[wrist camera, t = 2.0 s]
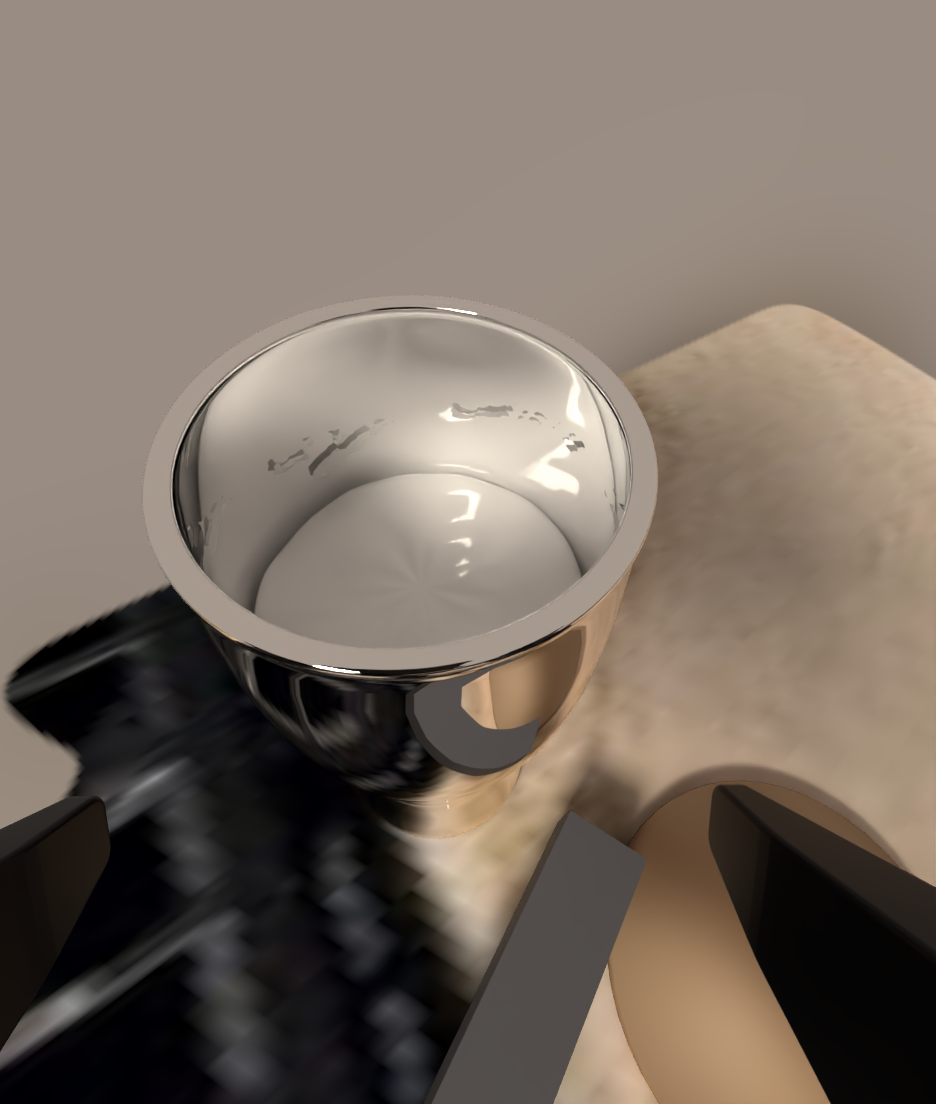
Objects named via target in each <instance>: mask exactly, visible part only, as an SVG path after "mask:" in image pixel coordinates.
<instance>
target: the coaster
mask: <svg viewBox="0 0 936 1104" xmlns="http://www.w3.org/2000/svg"><path fill="white" fill-rule="evenodd" d="M719 784H743V785H746V786H748V787H750V788H752V789H753V790H755V791H757V792H759V793H761V794H763V795H765V796H766V797H768V798H770V799H772V800H774V801H776V802H778V803H780V804H781V805H783V806H785V807H787V808H789V809H791V810H793V811H794V812H796V813H798V814H800V815H802V816H804V817H806V818H807V819H809V820H811V821H813V822H815V823H817V824H819V825H820V826H822V827H824V828H826V829H828V830H830V831H832V832H834V833H835V834H837V835H839V836H841V837H843V838H845V839H847V840H848V841H850V842H852V843H854V844H856V845H858V846H860V847H861V848H863V849H865V850H867V851H869V852H871V853H873V854H874V855H876V856H878V857H880V858H882V859H884V860H886V861H888V862H889V863H891V864H893V865H895V866H897V867H899V866H898V865H897V864H896V863H895V862H894V861H893V860H892V859H891V858H890V857H889V856H888V854H887V853H886V852H885V851H884V850H883V849H882V848H881V847H879V846H878V845H877V844H876V843H875V842H874V841H873V840H872V839H871V838H870V837H869V836H868V835H866V834H865V833H864V832H863V831H861V830H860V829H859V828H858V827H856V826H855V825H854V824H852V823H851V822H850V821H848V820H847V819H846V818H844V817H843V816H841V815H840V814H838V813H836V812H835V811H833V810H832V809H830V808H828V807H827V806H825V805H823V804H821V803H819V802H817V801H815V800H813V799H811V798H809V797H807V796H805V795H803V794H800V793H797V792H794V791H792V790H789V789H786V788H783V787H779V786H775V785H771V784H766V783H760V782H751V781H724V782H719V783H713V784H708V785H704V786H701V787H699V788H696V789H693V790H690V791H688V792H686V793H684V794H682V795H680V796H679V797H677V798H675V799H673V800H671V801H669V802H668V803H666V804H665V805H664V806H662V807H661V808H660V809H658V810H657V811H656V812H655V813H653V814H652V815H651V816H650V817H649V818H648V819H647V821H646V822H645V823H644V824H643V825H642V826H641V827H640V828H639V830H638V831H637V833H636V834H635V835H634V837H633V838H632V840H631V841H630V843H629V844H628V846H627V847H629V848H630V849H632V850H633V851H635V852H637V853H638V854H640V855H641V856H643V857H644V858H646V859H647V861H646V864H645V866H644V869H643V871H642V874H641V877H640V879H639V882H638V884H637V887H636V890H635V892H634V895H633V897H632V900H631V903H630V905H629V908H628V910H627V913H626V916H625V918H624V921H623V923H622V926H621V929H620V931H619V934H618V936H617V939H616V942H615V944H614V947H613V949H612V952H611V955H610V957H609V960H608V968H609V976H610V983H611V988H612V993H613V997H614V1001H615V1005H616V1009H617V1013H618V1017H619V1020H620V1022H621V1025H622V1028H623V1031H624V1034H625V1037H626V1040H627V1042H628V1045H629V1047H630V1049H631V1052H632V1054H633V1056H634V1058H635V1060H636V1062H637V1065H638V1067H639V1069H640V1071H641V1073H642V1075H643V1077H644V1079H645V1080H646V1082H647V1084H648V1085H649V1087H650V1089H651V1091H652V1092H653V1094H654V1096H655V1097H656V1099H657V1101H658V1102H659V1104H830V1102H829V1100H828V1098H827V1096H826V1094H825V1092H824V1090H823V1089H822V1087H821V1085H820V1083H819V1081H818V1079H817V1077H816V1075H815V1073H814V1071H813V1069H812V1067H811V1065H810V1063H809V1062H808V1060H807V1058H806V1056H805V1054H804V1052H803V1050H802V1048H801V1046H800V1044H799V1042H798V1040H797V1038H796V1036H795V1035H794V1033H793V1031H792V1029H791V1027H790V1025H789V1023H788V1021H787V1019H786V1017H785V1015H784V1013H783V1011H782V1009H781V1008H780V1006H779V1004H778V1002H777V1000H776V998H775V996H774V994H773V992H772V990H771V988H770V986H769V984H768V982H767V981H766V979H765V977H764V975H763V973H762V971H761V969H760V966H759V964H758V962H757V960H756V958H755V956H754V954H753V952H752V949H751V947H750V945H749V942H748V940H747V938H746V935H745V933H744V930H743V928H742V925H741V923H740V920H739V918H738V916H737V913H736V911H735V908H734V906H733V903H732V901H731V898H730V896H729V893H728V891H727V888H726V886H725V884H724V881H723V879H722V876H721V874H720V871H719V869H718V866H717V864H716V861H715V859H714V857H713V854H712V851H711V849H710V845H709V839H708V828H709V818H710V808H711V797H712V792H713V789H714V787H716V786H717V785H719Z"/></svg>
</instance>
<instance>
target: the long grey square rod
mask: <svg viewBox="0 0 936 1104" xmlns="http://www.w3.org/2000/svg"><path fill="white" fill-rule="evenodd" d="M646 861H647V859H646V858H644V857H643V856H641V855H640V854H638V853H637V852H635V851H633V850H632V849H630V848H629V847H627V846H626V845H624V844H623V843H621V842H619V841H618V840H616V839H615V838H613V837H612V836H610V835H609V834H607V833H605V832H604V831H602V830H601V829H599V828H598V827H596V826H595V825H593V824H591V823H590V822H588V821H587V820H585V819H584V818H582V817H581V816H579V815H577V814H576V813H574V812H573V811H571V810H570V811H569V812H568V813H567V814H566V815H565V816H564V817H563V818H562V819H561V820H560V821H559V822H558V824H557V826H556V828H555V830H554V832H553V834H552V836H551V838H550V840H549V842H548V844H547V847H546V849H545V851H544V853H543V855H542V857H541V859H540V861H539V863H538V865H537V867H536V869H535V872H534V874H533V876H532V878H531V880H530V882H529V884H528V886H527V888H526V890H525V892H524V894H523V896H522V899H521V901H520V903H519V905H518V907H517V909H516V911H515V913H514V915H513V917H512V919H511V921H510V924H509V926H508V928H507V930H506V932H505V934H504V936H503V938H502V940H501V942H500V944H499V946H498V949H497V951H496V953H495V955H494V957H493V959H492V961H491V963H490V965H489V967H488V969H487V971H486V973H485V976H484V978H483V980H482V982H481V984H480V986H479V988H478V990H477V992H476V994H475V996H474V998H473V1001H472V1003H471V1005H470V1007H469V1009H468V1011H467V1013H466V1015H465V1017H464V1019H463V1021H462V1023H461V1026H460V1028H459V1030H458V1032H457V1034H456V1036H455V1038H454V1040H453V1042H452V1044H451V1046H450V1048H449V1051H448V1053H447V1055H446V1057H445V1059H444V1061H443V1063H442V1065H441V1067H440V1069H439V1071H438V1073H437V1075H436V1078H435V1080H434V1082H433V1084H432V1086H431V1088H430V1090H429V1092H428V1094H427V1096H426V1098H425V1100H424V1103H423V1104H553V1103H554V1100H555V1097H556V1095H557V1092H558V1090H559V1087H560V1084H561V1082H562V1079H563V1077H564V1074H565V1071H566V1069H567V1066H568V1064H569V1061H570V1058H571V1056H572V1053H573V1051H574V1048H575V1045H576V1043H577V1040H578V1038H579V1035H580V1032H581V1030H582V1027H583V1025H584V1022H585V1019H586V1017H587V1014H588V1012H589V1009H590V1007H591V1004H592V1001H593V999H594V996H595V994H596V991H597V988H598V986H599V983H600V981H601V978H602V975H603V973H604V970H605V968H606V965H607V962H608V960H609V957H610V955H611V952H612V949H613V947H614V944H615V942H616V939H617V936H618V934H619V931H620V929H621V926H622V923H623V921H624V918H625V916H626V913H627V910H628V908H629V905H630V903H631V900H632V897H633V895H634V892H635V890H636V887H637V884H638V882H639V879H640V877H641V874H642V871H643V869H644V866H645V864H646Z"/></svg>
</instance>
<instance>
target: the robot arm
mask: <svg viewBox="0 0 936 1104" xmlns="http://www.w3.org/2000/svg"><path fill="white" fill-rule="evenodd" d="M708 839H709V845H710V849H711V851H712V854H713V857H714V859H715V861H716V864H717V866H718V869H719V871H720V874H721V876H722V879H723V881H724V884H725V886H726V888H727V891H728V893H729V896H730V898H731V901H732V903H733V906H734V908H735V911H736V913H737V916H738V918H739V920H740V923H741V925H742V928H743V930H744V933H745V935H746V938H747V940H748V942H749V945H750V947H751V949H752V952H753V954H754V956H755V958H756V960H757V962H758V964H759V966H760V969H761V971H762V973H763V975H764V977H765V979H766V981H767V982H768V984H769V986H770V988H771V990H772V992H773V994H774V996H775V998H776V1000H777V1002H778V1004H779V1006H780V1008H781V1009H782V1011H783V1013H784V1015H785V1017H786V1019H787V1021H788V1023H789V1025H790V1027H791V1029H792V1031H793V1033H794V1035H795V1036H796V1038H797V1040H798V1042H799V1044H800V1046H801V1048H802V1050H803V1052H804V1054H805V1056H806V1058H807V1060H808V1062H809V1063H810V1065H811V1067H812V1069H813V1071H814V1073H815V1075H816V1077H817V1079H818V1081H819V1083H820V1085H821V1087H822V1089H823V1090H824V1092H825V1094H826V1096H827V1098H828V1100H829V1102H830V1104H936V887H934V886H932V885H930V884H929V883H927V882H925V881H923V880H921V879H919V878H917V877H916V876H914V875H912V874H910V873H908V872H906V871H904V870H902V869H901V868H899V867H897V866H895V865H893V864H891V863H889V862H888V861H886V860H884V859H882V858H880V857H878V856H876V855H874V854H873V853H871V852H869V851H867V850H865V849H863V848H861V847H860V846H858V845H856V844H854V843H852V842H850V841H848V840H847V839H845V838H843V837H841V836H839V835H837V834H835V833H834V832H832V831H830V830H828V829H826V828H824V827H822V826H820V825H819V824H817V823H815V822H813V821H811V820H809V819H807V818H806V817H804V816H802V815H800V814H798V813H796V812H794V811H793V810H791V809H789V808H787V807H785V806H783V805H781V804H780V803H778V802H776V801H774V800H772V799H770V798H768V797H766V796H765V795H763V794H761V793H759V792H757V791H755V790H753V789H752V788H750V787H748V786H746V785H743V784H719V785H717V786H716V787H714V789H713V792H712V797H711V808H710V818H709V828H708ZM110 849H111V843H110V836H109V830H108V823H107V817H106V810H105V805H104V802H103V800H102V799H101V798H99V797H97V796H72V797H68V798H65V799H63V800H61V801H59V802H57V803H55V804H53V805H51V806H49V807H46V808H44V809H42V810H40V811H38V812H36V813H34V814H31V815H29V816H27V817H25V818H23V819H21V820H19V821H17V822H15V823H13V824H10V825H8V826H6V827H4V828H2V829H0V1051H1V1049H2V1048H3V1046H4V1045H5V1043H6V1041H7V1040H8V1038H9V1037H10V1035H11V1033H12V1032H13V1030H14V1029H15V1027H16V1026H17V1024H18V1022H19V1021H20V1019H21V1018H22V1016H23V1015H24V1013H25V1011H26V1010H27V1008H28V1007H29V1005H30V1004H31V1002H32V1000H33V999H34V997H35V996H36V994H37V992H38V991H39V989H40V987H41V986H42V984H43V982H44V981H45V979H46V977H47V976H48V974H49V972H50V970H51V968H52V967H53V965H54V963H55V961H56V960H57V958H58V956H59V954H60V952H61V950H62V948H63V946H64V944H65V943H66V941H67V939H68V937H69V935H70V933H71V931H72V929H73V927H74V925H75V923H76V922H77V920H78V918H79V916H80V914H81V912H82V910H83V908H84V906H85V904H86V903H87V901H88V899H89V897H90V895H91V893H92V891H93V889H94V887H95V885H96V884H97V882H98V880H99V878H100V876H101V874H102V872H103V870H104V868H105V866H106V864H107V862H108V859H109V855H110Z"/></svg>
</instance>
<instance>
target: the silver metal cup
mask: <svg viewBox="0 0 936 1104" xmlns="http://www.w3.org/2000/svg"><path fill="white" fill-rule="evenodd" d="M657 492H658V465H657V457H656V452H655V447H654V443H653V439H652V436H651V433H650V430H649V427H648V425H647V422H646V420H645V418H644V416H643V414H642V411H641V410H640V408H639V406H638V404H637V403H636V401H635V399H634V398H633V396H632V394H631V393H630V392H629V390H628V389H627V387H626V386H625V385H624V384H623V382H622V381H621V380H620V379H619V378H618V376H617V375H616V374H615V373H614V372H613V371H612V370H611V369H610V368H609V367H608V366H607V365H606V364H605V363H604V362H603V361H602V360H600V359H599V358H598V357H597V356H596V355H595V354H593V353H592V352H591V351H589V350H588V349H587V348H586V347H584V346H583V345H581V344H580V343H579V342H577V341H575V340H574V339H572V338H571V337H569V336H567V335H566V334H564V333H562V332H561V331H559V330H557V329H555V328H553V327H551V326H549V325H547V324H545V323H543V322H541V321H538V320H536V319H534V318H531V317H529V316H526V315H523V314H520V313H518V312H515V311H512V310H508V309H505V308H502V307H498V306H494V305H490V304H486V303H481V302H477V301H471V300H464V299H459V298H451V297H440V296H423V295H403V296H402V295H401V296H384V297H375V298H365V299H358V300H352V301H347V302H342V303H337V304H333V305H329V306H325V307H321V308H318V309H314V310H311V311H308V312H305V313H301V314H299V315H296V316H293V317H290V318H288V319H285V320H283V321H281V322H278V323H276V324H274V325H271V326H269V327H267V328H265V329H263V330H261V331H259V332H257V333H255V334H254V335H252V336H250V337H248V338H246V339H245V340H243V341H242V342H240V343H238V344H237V345H235V346H234V347H232V348H231V349H229V350H228V351H226V352H225V353H224V354H222V355H221V356H219V357H218V358H217V359H215V360H214V361H213V362H212V363H211V364H209V365H208V366H207V367H206V368H205V369H204V370H203V371H202V372H201V373H200V374H198V375H197V376H196V377H195V379H193V381H192V382H191V383H190V384H189V385H188V386H187V387H186V388H185V389H184V390H183V392H182V393H181V394H180V395H179V397H178V398H177V399H176V400H175V402H174V403H173V405H172V406H171V408H170V409H169V411H168V412H167V414H166V416H165V417H164V419H163V421H162V423H161V425H160V426H159V428H158V430H157V433H156V435H155V437H154V440H153V442H152V445H151V448H150V450H149V454H148V457H147V461H146V466H145V470H144V476H143V485H142V508H143V516H144V523H145V527H146V532H147V535H148V539H149V542H150V545H151V548H152V550H153V553H154V555H155V558H156V560H157V562H158V564H159V566H160V568H161V569H162V571H163V573H164V575H165V576H166V578H167V579H168V581H169V583H170V584H171V585H172V587H173V588H174V589H175V591H176V592H177V593H178V594H179V596H180V597H181V598H182V599H183V600H184V602H185V603H186V604H187V605H188V606H189V607H190V608H191V609H192V610H193V612H194V613H195V615H196V617H197V618H198V620H199V622H200V623H201V625H202V627H203V628H204V630H205V632H206V633H207V635H208V637H209V639H210V640H211V642H212V644H213V645H214V647H215V648H216V650H217V652H218V653H219V655H220V656H221V658H222V659H223V661H224V662H225V664H226V665H227V667H228V668H229V670H230V672H231V673H232V675H233V676H234V678H235V679H236V681H237V682H238V684H239V685H240V687H241V688H242V689H243V691H244V692H245V693H246V695H247V696H248V697H249V698H250V700H251V701H252V702H253V703H254V704H255V706H256V707H257V708H258V709H259V711H260V712H261V713H262V714H263V716H264V717H265V718H266V719H267V721H268V722H269V723H270V724H271V726H272V727H273V728H274V729H275V730H276V731H277V732H278V733H279V734H280V735H281V736H282V737H283V738H284V739H285V740H286V741H287V742H289V743H290V744H291V745H292V746H293V747H294V748H295V749H297V750H298V751H299V752H300V753H301V754H302V755H303V756H305V757H306V758H307V759H308V760H309V761H310V762H312V763H313V764H314V765H315V766H317V767H318V768H320V769H321V770H322V771H324V772H325V773H327V774H329V775H330V776H332V777H334V778H336V779H338V780H340V781H341V782H344V783H346V784H348V785H350V786H353V787H355V788H358V790H359V792H360V794H361V795H362V797H363V799H364V800H365V802H366V803H367V805H368V806H369V807H370V808H371V810H372V811H373V812H374V813H375V814H376V815H377V816H378V817H379V818H381V819H382V820H383V821H384V822H386V823H387V824H389V825H390V826H392V827H393V828H395V829H397V830H399V831H401V832H404V833H406V834H410V835H413V836H417V837H423V838H446V837H452V836H456V835H459V834H462V833H465V832H468V831H470V830H472V829H474V828H476V827H478V826H479V825H481V824H482V823H484V822H485V821H487V820H488V819H489V818H490V817H492V816H493V815H494V814H495V813H496V812H497V811H498V810H499V809H500V808H501V807H502V805H503V804H504V803H505V802H506V800H507V799H508V797H509V796H510V794H511V792H512V790H513V788H514V786H515V784H516V781H517V779H518V776H519V772H520V768H521V766H522V765H523V764H525V763H526V762H527V761H528V760H530V759H531V758H532V757H533V756H534V755H536V754H537V753H538V752H539V751H540V750H541V749H542V748H543V747H544V746H545V745H546V744H547V743H548V742H549V741H550V739H551V738H552V737H553V736H554V735H555V733H556V732H557V731H558V729H559V728H560V727H561V725H562V724H563V722H564V721H565V719H566V718H567V716H568V715H569V713H570V712H571V711H572V709H573V708H574V706H575V705H576V703H577V702H578V700H579V699H580V697H581V695H582V694H583V692H584V690H585V688H586V686H587V685H588V682H589V680H590V678H591V676H592V674H593V672H594V670H595V667H596V665H597V663H598V661H599V659H600V657H601V654H602V652H603V650H604V648H605V645H606V643H607V640H608V638H609V635H610V632H611V630H612V627H613V624H614V621H615V618H616V616H617V613H618V610H619V607H620V604H621V601H622V598H623V595H624V592H625V589H626V586H627V582H628V579H629V576H630V573H631V569H632V566H633V564H634V561H635V559H636V557H637V556H638V554H639V552H640V550H641V548H642V546H643V544H644V542H645V539H646V537H647V534H648V532H649V529H650V526H651V523H652V520H653V516H654V512H655V506H656V500H657Z"/></svg>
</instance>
